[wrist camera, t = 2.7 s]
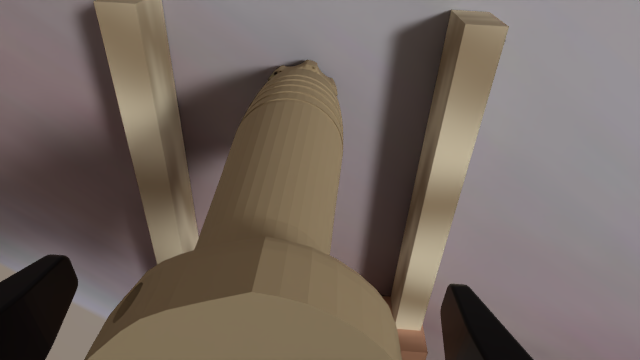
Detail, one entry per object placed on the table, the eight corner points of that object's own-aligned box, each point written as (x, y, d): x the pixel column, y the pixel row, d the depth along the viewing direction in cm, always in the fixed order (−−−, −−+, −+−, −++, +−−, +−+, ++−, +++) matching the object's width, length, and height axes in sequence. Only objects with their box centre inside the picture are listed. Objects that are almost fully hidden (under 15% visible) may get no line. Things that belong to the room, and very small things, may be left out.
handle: (222, 100, 20) (22, 413, 8) (312, 1, 17) (229, 239, 5) (294, 161, 22) (226, 497, 9) (387, 80, 19) (462, 402, 7)
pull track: (412, 318, 28) (421, 372, 25) (183, 300, 29) (161, 352, 25) (494, 12, 17) (529, 37, 14) (118, -11, 18) (65, 9, 14)
